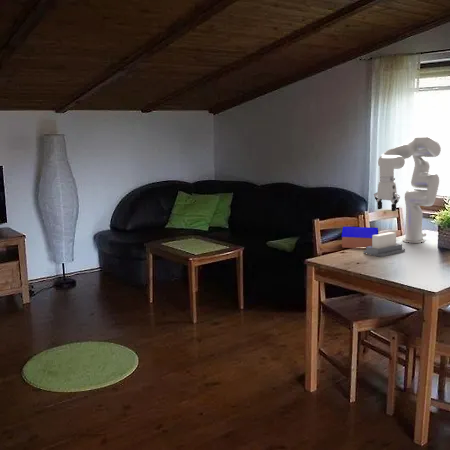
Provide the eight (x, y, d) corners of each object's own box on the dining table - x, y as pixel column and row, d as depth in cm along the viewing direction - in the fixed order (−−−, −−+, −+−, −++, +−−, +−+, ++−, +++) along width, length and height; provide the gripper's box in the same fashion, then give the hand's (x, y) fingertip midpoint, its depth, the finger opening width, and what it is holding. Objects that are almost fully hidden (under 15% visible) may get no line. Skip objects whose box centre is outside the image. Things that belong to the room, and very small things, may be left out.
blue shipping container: (376, 249, 314) (376, 229, 312) (341, 247, 321) (341, 228, 319) (378, 245, 325) (378, 225, 323) (344, 243, 332) (344, 224, 330)
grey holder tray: (387, 248, 315) (387, 241, 314) (404, 251, 305) (404, 244, 304) (363, 253, 304) (363, 246, 303) (380, 257, 294) (380, 249, 293)
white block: (390, 247, 310) (390, 231, 308) (396, 248, 307) (396, 232, 305) (372, 251, 302) (372, 235, 300) (377, 252, 299) (378, 236, 297)
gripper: (404, 179, 296) (403, 210, 300) (378, 177, 310) (378, 207, 314) (394, 181, 292) (395, 212, 296) (369, 179, 306) (370, 209, 310)
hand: (386, 209), depth 305 cm, fingers open, 9 cm apart
